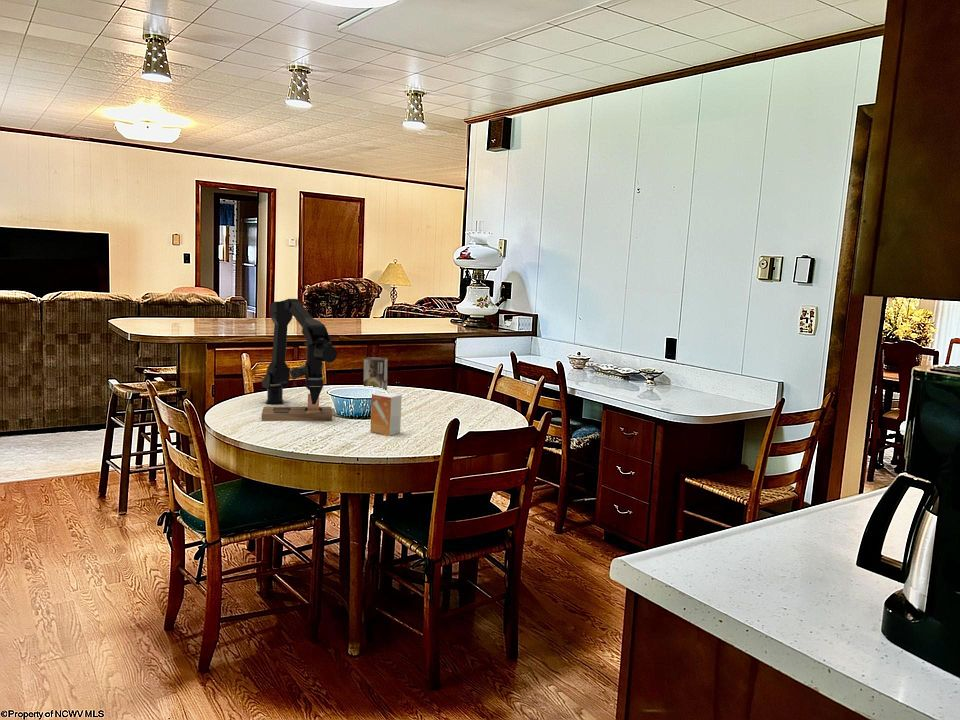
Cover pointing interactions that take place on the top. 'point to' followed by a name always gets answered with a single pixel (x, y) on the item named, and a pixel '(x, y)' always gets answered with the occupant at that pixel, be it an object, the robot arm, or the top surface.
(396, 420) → the small box
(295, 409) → the socket board
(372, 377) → the coffee box
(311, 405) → the plug
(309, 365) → the robot arm
